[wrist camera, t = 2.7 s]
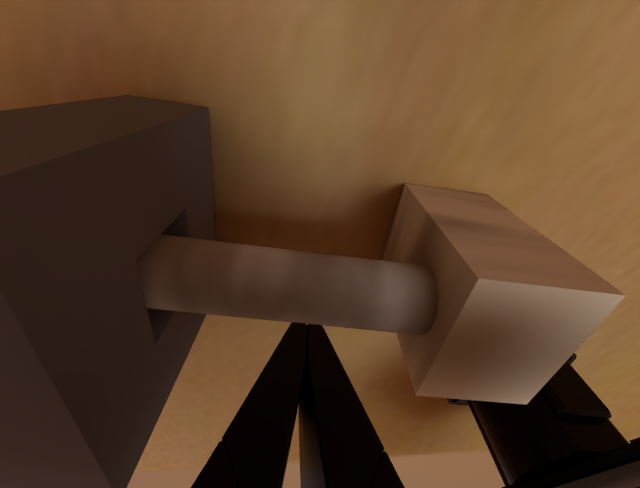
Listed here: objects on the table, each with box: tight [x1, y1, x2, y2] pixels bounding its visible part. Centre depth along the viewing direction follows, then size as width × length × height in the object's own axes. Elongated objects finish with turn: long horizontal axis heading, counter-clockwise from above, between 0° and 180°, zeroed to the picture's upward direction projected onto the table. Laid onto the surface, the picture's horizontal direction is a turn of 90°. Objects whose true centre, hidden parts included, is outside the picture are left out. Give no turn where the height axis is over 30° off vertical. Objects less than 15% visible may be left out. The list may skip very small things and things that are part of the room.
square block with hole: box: [0, 95, 216, 488], centre depth 9 cm, size 9×3×9 cm, turn 172°
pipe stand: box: [136, 183, 626, 405], centre depth 12 cm, size 12×36×7 cm, turn 82°
